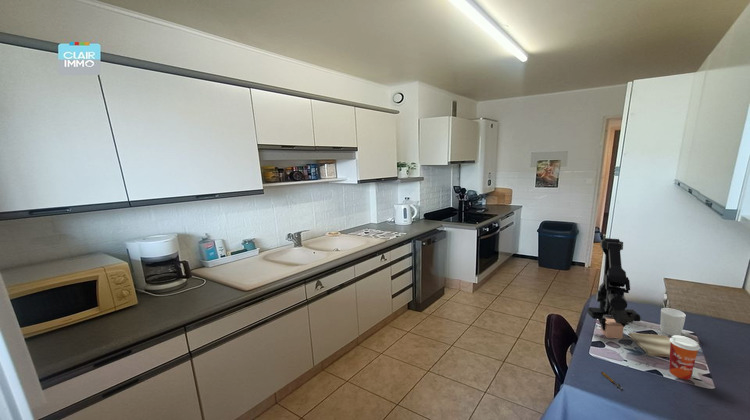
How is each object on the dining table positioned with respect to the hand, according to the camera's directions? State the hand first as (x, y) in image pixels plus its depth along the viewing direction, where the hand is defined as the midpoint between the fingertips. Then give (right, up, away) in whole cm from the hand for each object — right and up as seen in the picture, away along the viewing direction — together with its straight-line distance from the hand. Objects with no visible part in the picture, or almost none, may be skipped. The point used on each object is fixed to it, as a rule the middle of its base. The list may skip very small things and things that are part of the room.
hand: (611, 330), depth 135 cm
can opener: (-22, -8, -27) cm, 35 cm away
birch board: (+12, -3, -10) cm, 16 cm away
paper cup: (+5, -6, -25) cm, 26 cm away
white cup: (+26, 0, -1) cm, 27 cm away
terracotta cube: (0, -2, 0) cm, 2 cm away
